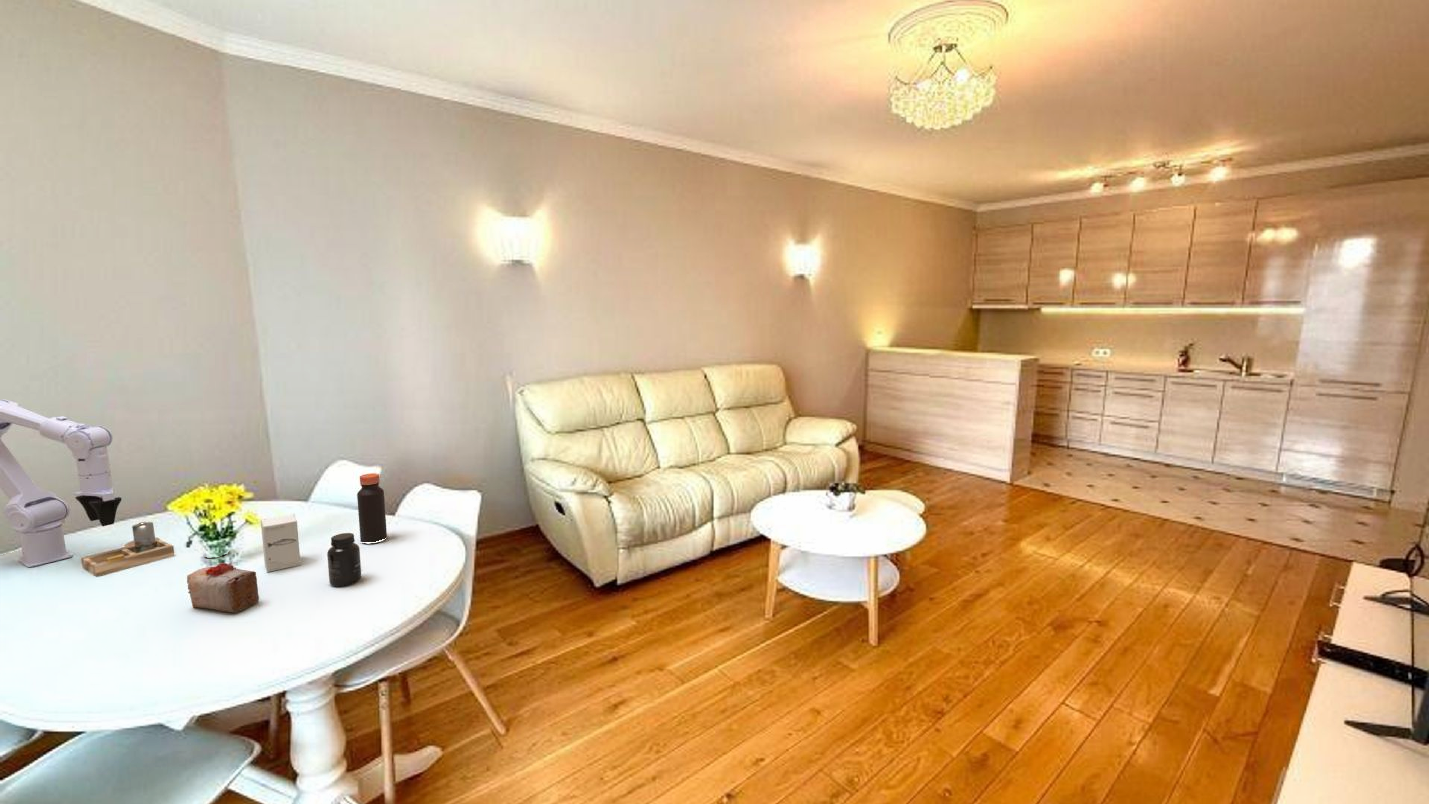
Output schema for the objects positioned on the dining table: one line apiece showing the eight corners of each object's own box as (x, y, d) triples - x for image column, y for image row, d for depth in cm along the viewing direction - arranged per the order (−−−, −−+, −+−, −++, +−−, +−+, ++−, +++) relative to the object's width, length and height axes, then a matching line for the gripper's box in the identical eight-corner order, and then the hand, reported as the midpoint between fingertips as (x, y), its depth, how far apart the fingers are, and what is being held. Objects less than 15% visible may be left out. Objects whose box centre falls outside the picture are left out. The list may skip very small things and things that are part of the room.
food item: (183, 609, 128) (178, 568, 126) (220, 593, 136) (215, 554, 134) (231, 617, 125) (226, 575, 124) (266, 600, 133) (262, 560, 131)
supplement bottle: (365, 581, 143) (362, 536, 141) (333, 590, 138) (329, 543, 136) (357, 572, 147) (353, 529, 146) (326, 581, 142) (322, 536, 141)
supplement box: (266, 573, 146) (261, 526, 144) (264, 563, 152) (259, 518, 150) (301, 565, 151) (297, 520, 149) (298, 556, 156) (294, 512, 155)
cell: (132, 554, 153) (128, 523, 152) (152, 548, 156) (148, 519, 155) (140, 556, 151) (136, 526, 150) (159, 551, 155) (156, 521, 154)
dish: (121, 550, 158) (120, 543, 157) (154, 542, 164) (153, 535, 164) (130, 555, 154) (129, 548, 154) (164, 547, 161) (163, 540, 160)
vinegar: (378, 545, 165) (373, 479, 162) (355, 544, 165) (350, 478, 162) (391, 536, 172) (387, 472, 169) (369, 535, 172) (365, 472, 169)
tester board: (82, 567, 147) (80, 554, 146) (159, 548, 160) (157, 535, 159) (96, 576, 142) (94, 563, 142) (174, 555, 155) (173, 543, 155)
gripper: (61, 472, 148) (69, 522, 150) (83, 480, 142) (91, 532, 144) (99, 466, 155) (106, 514, 157) (122, 474, 148) (129, 523, 150)
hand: (102, 522), depth 151 cm, fingers open, 7 cm apart
